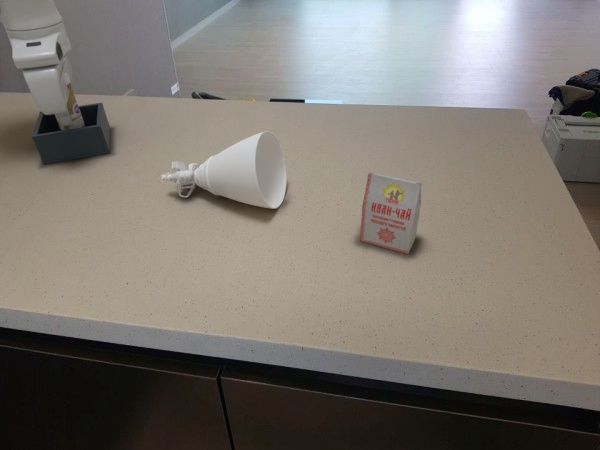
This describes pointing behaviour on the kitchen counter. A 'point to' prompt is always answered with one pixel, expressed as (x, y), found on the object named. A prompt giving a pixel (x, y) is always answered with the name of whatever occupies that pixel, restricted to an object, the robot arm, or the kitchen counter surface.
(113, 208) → the kitchen counter surface
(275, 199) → the rocket engine
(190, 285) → the kitchen counter surface
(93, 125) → the box
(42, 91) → the robot arm
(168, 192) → the kitchen counter surface
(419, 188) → the tea bag
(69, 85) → the sprinkles bottle
